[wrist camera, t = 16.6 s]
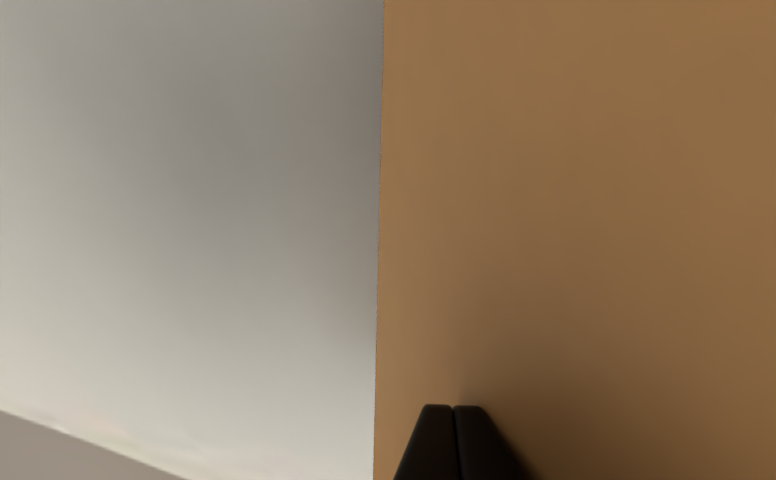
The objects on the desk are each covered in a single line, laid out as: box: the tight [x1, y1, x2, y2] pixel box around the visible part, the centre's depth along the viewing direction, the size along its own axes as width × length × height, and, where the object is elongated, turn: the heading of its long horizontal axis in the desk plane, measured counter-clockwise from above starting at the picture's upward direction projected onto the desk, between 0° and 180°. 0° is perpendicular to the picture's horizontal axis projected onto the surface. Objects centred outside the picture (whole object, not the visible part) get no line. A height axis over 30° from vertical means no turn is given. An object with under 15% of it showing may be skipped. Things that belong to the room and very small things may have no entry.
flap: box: [373, 0, 776, 480], centre depth 9 cm, size 8×16×1 cm
